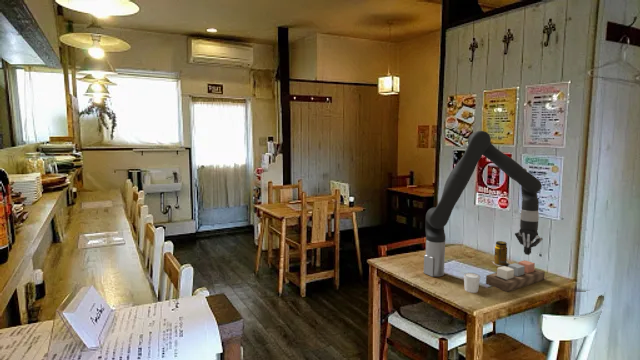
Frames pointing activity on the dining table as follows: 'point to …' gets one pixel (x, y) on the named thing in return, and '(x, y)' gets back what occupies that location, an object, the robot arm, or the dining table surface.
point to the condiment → (500, 254)
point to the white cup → (471, 282)
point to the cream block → (505, 272)
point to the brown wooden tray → (515, 280)
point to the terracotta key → (527, 266)
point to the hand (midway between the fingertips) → (527, 254)
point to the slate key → (517, 269)
